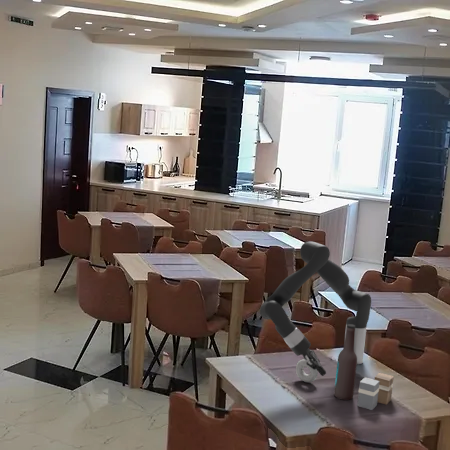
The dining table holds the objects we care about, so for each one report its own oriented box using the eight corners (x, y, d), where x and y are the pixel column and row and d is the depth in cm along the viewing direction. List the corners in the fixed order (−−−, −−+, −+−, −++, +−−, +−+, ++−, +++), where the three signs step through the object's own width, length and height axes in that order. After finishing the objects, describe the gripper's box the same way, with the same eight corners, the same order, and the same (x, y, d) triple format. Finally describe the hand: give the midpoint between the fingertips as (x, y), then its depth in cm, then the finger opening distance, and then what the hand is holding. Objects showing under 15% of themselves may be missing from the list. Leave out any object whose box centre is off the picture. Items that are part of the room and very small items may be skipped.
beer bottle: (339, 390, 280) (347, 321, 275) (356, 396, 276) (364, 325, 271) (330, 396, 274) (338, 324, 269) (347, 402, 270) (355, 329, 265)
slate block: (362, 400, 272) (364, 377, 270) (377, 405, 269) (379, 381, 267) (356, 405, 267) (359, 381, 265) (372, 410, 264) (374, 385, 262)
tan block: (376, 395, 278) (379, 372, 277) (391, 399, 275) (394, 376, 274) (371, 400, 273) (374, 376, 271) (386, 404, 270) (389, 380, 268)
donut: (293, 379, 288) (295, 357, 287) (296, 377, 291) (299, 355, 290) (314, 386, 283) (316, 363, 282) (318, 383, 286) (320, 361, 284)
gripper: (302, 340, 267) (331, 374, 267) (305, 330, 280) (332, 363, 280) (288, 352, 269) (316, 385, 269) (291, 341, 282) (317, 373, 282)
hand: (324, 374), depth 275 cm, fingers closed
